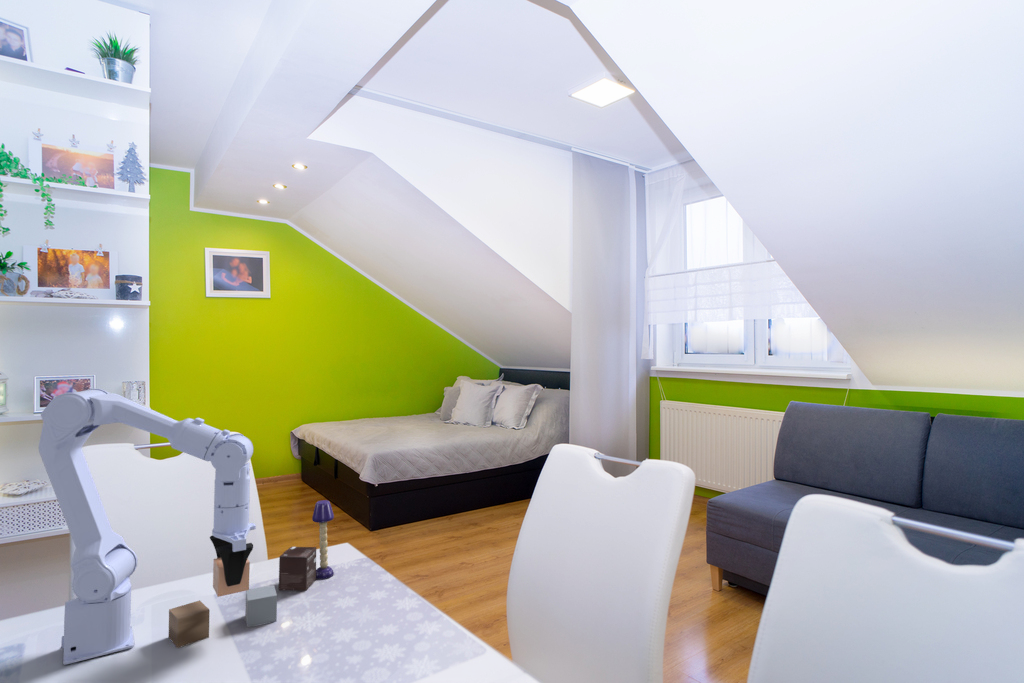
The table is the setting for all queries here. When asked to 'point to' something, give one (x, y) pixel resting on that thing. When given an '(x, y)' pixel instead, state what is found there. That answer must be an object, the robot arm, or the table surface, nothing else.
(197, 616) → the walnut block
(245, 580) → the terracotta block
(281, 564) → the box
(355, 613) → the table surface
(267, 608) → the slate block
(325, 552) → the toy lamp
